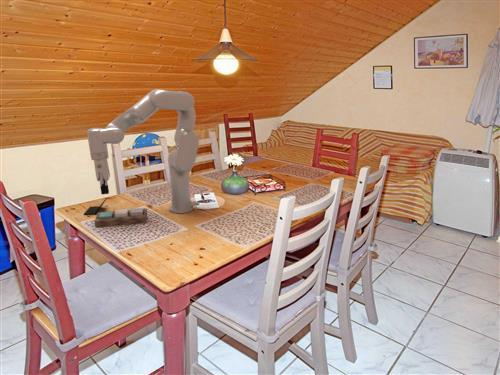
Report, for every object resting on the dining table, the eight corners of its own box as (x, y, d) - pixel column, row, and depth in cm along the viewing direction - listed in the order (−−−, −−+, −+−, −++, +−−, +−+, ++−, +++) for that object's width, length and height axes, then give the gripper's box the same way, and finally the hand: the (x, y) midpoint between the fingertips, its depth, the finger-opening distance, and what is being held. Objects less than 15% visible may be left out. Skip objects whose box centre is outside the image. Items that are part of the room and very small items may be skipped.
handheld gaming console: (85, 205, 199) (95, 191, 198) (98, 212, 203) (108, 197, 201) (82, 216, 189) (93, 201, 188) (95, 222, 193) (106, 208, 191)
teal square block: (113, 216, 185) (112, 211, 184) (112, 220, 179) (111, 215, 179) (101, 217, 183) (100, 212, 183) (99, 221, 178) (99, 216, 177)
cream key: (128, 213, 186) (127, 209, 185) (127, 217, 181) (127, 213, 180) (116, 214, 185) (115, 210, 184) (115, 218, 179) (114, 214, 179)
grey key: (143, 212, 188) (142, 207, 187) (142, 216, 182) (142, 211, 182) (131, 213, 186) (130, 208, 186) (130, 217, 181) (130, 212, 180)
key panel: (146, 214, 192) (146, 208, 191) (146, 222, 181) (146, 216, 180) (98, 218, 186) (97, 211, 185) (95, 227, 175) (94, 220, 174)
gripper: (106, 158, 166) (112, 197, 172) (109, 151, 180) (115, 188, 186) (88, 159, 165) (94, 199, 170) (93, 152, 178) (98, 189, 184)
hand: (105, 193), depth 178 cm, fingers closed
